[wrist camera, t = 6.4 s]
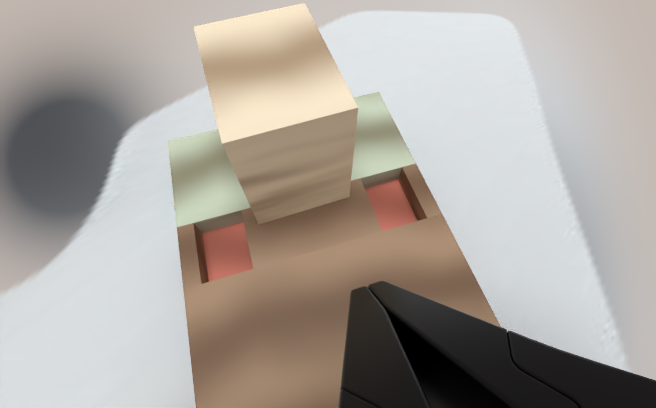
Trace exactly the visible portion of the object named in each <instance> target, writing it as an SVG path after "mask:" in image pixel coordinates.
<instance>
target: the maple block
mask: <svg viewBox="0 0 656 408" xmlns="http://www.w3.org/2000/svg"><path fill="white" fill-rule="evenodd" d="M194 31H195V35H196V39H197V43H198V47H199V51H200V55H201V60H202V63H203V68H204V72H205V76H206V80H207V84H208V89H209V93H210V97H211V101H212V105H213V109H214V113H215V117H216V121H217V126H218V130H219V134H220V138H221V142H222V145H223V147H224V149H225V152H226V154H227V156H228V158H229V160H230V163H231V165H232V167H233V169H234V172H235V174H236V176H237V178H238V180H239V183H240V185H241V187H242V189H243V191H244V194H245V196H246V198H247V200H248V202H249V205H250V207H251V209H252V211H253V214H254V216H255V218H256V220H257V222H258V225H259V224H262V223H266V222H269V221H272V220H275V219H279V218H282V217H285V216H288V215H292V214H295V213H298V212H302V211H305V210H308V209H311V208H315V207H318V206H321V205H325V204H328V203H331V202H334V201H338V200H341V199H344V198H348V197H349V196H350V186H351V175H352V165H353V155H354V145H355V135H356V125H357V115H358V106H357V104H356V102H355V100H354V98H353V96H352V94H351V92H350V91H349V89H348V87H347V85H346V83H345V81H344V79H343V77H342V75H341V73H340V71H339V69H338V67H337V65H336V63H335V61H334V59H333V57H332V55H331V53H330V52H329V50H328V48H327V46H326V44H325V42H324V40H323V38H322V36H321V34H320V32H319V30H318V28H317V26H316V24H315V22H314V20H313V19H312V16H311V14H310V13H309V11H308V9H307V7H306V5H305V3H303V4H298V5H293V6H288V7H284V8H279V9H274V10H270V11H265V12H260V13H256V14H251V15H246V16H241V17H236V18H232V19H227V20H222V21H218V22H213V23H208V24H204V25H199V26H195V27H194Z"/></svg>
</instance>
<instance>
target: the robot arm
mask: <svg viewBox="0 0 656 408" xmlns="http://www.w3.org/2000/svg"><path fill="white" fill-rule="evenodd" d="M340 390H341V391H340V395H339V404H338V408H656V381H655V380H652V379H649V378H646V377H643V376H640V375H636V374H633V373H630V372H627V371H624V370H621V369H618V368H614V367H611V366H608V365H605V364H602V363H599V362H595V361H592V360H589V359H586V358H583V357H580V356H577V355H574V354H571V353H568V352H565V351H562V350H559V349H557V348H554V347H551V346H548V345H546V344H543V343H540V342H538V341H535V340H532V339H530V338H527V337H525V336H522V335H520V334H517V333H515V332H512V331H508V333H507V330H506V329H504V328H502V327H499V326H497V325H494V324H492V323H489V322H487V321H484V320H482V319H479V318H476V317H474V316H471V315H469V314H466V313H464V312H461V311H459V310H456V309H454V308H451V307H449V306H446V305H444V304H441V303H439V302H436V301H434V300H431V299H429V298H426V297H424V296H421V295H419V294H416V293H414V292H411V291H409V290H406V289H403V288H401V287H398V286H396V285H393V284H391V283H388V282H386V281H379V282H376V283H372V284H370V285H368V287H367V286H363V287H360V288H357V289H353V290H352V291H351V293H350V302H349V312H348V321H347V331H346V340H345V350H344V359H343V369H342V378H341V387H340Z"/></svg>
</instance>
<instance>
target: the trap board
mask: <svg viewBox="0 0 656 408" xmlns="http://www.w3.org/2000/svg"><path fill="white" fill-rule="evenodd" d="M354 100H355V102H356V104H357V106H358V115H357V125H356V135H355V145H354V155H353V165H352V175H351V186H350V196H349V197H348V198H344V199H341V200H338V201H334V202H331V203H328V204H325V205H321V206H318V207H315V208H311V209H308V210H305V211H302V212H298V213H295V214H292V215H288V216H285V217H282V218H279V219H275V220H272V221H269V222H266V223H262V224H259V225H258V222H257V220H256V218H255V216H254V214H253V211H252V209H251V207H250V205H249V202H248V200H247V198H246V196H245V194H244V191H243V189H242V187H241V185H240V183H239V180H238V178H237V176H236V174H235V172H234V169H233V167H232V165H231V163H230V160H229V158H228V156H227V154H226V152H225V149H224V147H223V145H222V142H221V138H220V134H219V130H214V131H209V132H205V133H201V134H197V135H192V136H188V137H184V138H180V139H175V140H171V141H168V147H169V157H170V166H171V176H172V185H173V194H174V204H175V213H176V223H177V232H178V242H179V251H180V260H181V270H182V279H183V289H184V298H185V308H186V317H187V326H188V336H189V345H190V355H191V364H192V374H193V383H194V392H195V402H196V408H337V407H338V404H339V395H340V391H341V390H340V387H341V378H342V369H343V359H344V350H345V340H346V331H347V321H348V312H349V302H350V293H351V291H352V290H353V289H357V288H360V287H363V286H367V287H368V285H370V284H372V283H376V282H379V281H386V282H388V283H391V284H393V285H396V286H398V287H401V288H403V289H406V290H409V291H411V292H414V293H416V294H419V295H421V296H424V297H426V298H429V299H431V300H434V301H436V302H439V303H441V304H444V305H446V306H449V307H451V308H454V309H456V310H459V311H461V312H464V313H466V314H469V315H471V316H474V317H476V318H479V319H482V320H484V321H487V322H489V323H492V324H494V325H497V326H499V327H501V326H500V324H499V323H498V321H497V319H496V317H495V315H494V313H493V311H492V309H491V307H490V305H489V303H488V301H487V299H486V298H485V296H484V294H483V292H482V290H481V288H480V286H479V284H478V282H477V280H476V278H475V276H474V274H473V273H472V271H471V269H470V267H469V265H468V263H467V261H466V259H465V257H464V255H463V253H462V251H461V249H460V248H459V246H458V244H457V242H456V240H455V238H454V236H453V234H452V232H451V230H450V228H449V226H448V224H447V222H446V221H445V219H444V217H443V215H442V213H441V211H440V209H439V207H438V205H437V203H436V201H435V199H434V197H433V196H432V194H431V192H430V190H429V188H428V186H427V184H426V182H425V180H424V178H423V176H422V174H421V172H420V171H419V169H418V167H417V165H416V163H415V161H414V159H413V157H412V155H411V153H410V151H409V149H408V147H407V146H406V144H405V142H404V140H403V138H402V136H401V134H400V132H399V130H398V128H397V126H396V124H395V122H394V121H393V119H392V117H391V115H390V113H389V111H388V109H387V107H386V105H385V103H384V101H383V99H382V97H381V95H380V94H379V92H376V93H372V94H368V95H363V96H359V97H355V98H354Z"/></svg>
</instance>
